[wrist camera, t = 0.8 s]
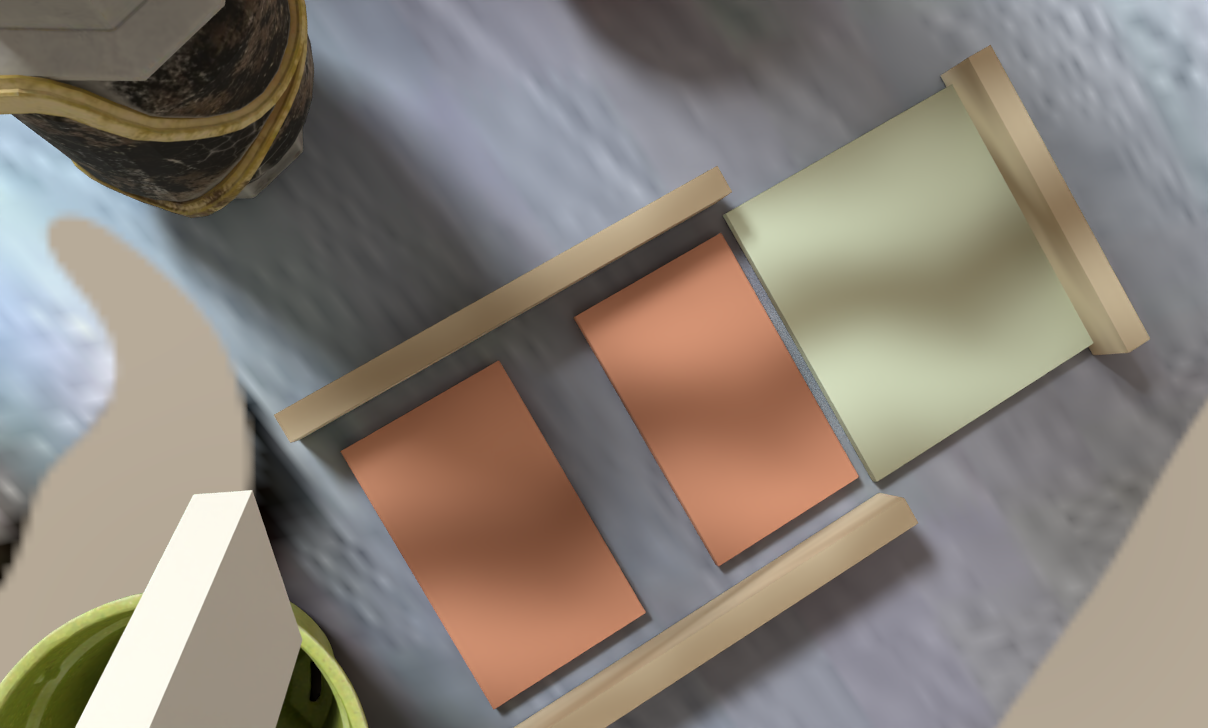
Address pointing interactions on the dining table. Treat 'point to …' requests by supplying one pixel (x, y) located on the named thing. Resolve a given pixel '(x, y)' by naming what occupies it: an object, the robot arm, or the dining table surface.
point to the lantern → (163, 92)
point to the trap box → (740, 387)
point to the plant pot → (86, 643)
